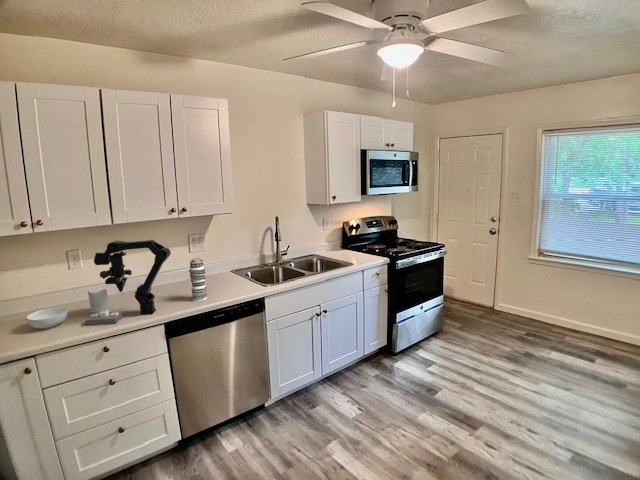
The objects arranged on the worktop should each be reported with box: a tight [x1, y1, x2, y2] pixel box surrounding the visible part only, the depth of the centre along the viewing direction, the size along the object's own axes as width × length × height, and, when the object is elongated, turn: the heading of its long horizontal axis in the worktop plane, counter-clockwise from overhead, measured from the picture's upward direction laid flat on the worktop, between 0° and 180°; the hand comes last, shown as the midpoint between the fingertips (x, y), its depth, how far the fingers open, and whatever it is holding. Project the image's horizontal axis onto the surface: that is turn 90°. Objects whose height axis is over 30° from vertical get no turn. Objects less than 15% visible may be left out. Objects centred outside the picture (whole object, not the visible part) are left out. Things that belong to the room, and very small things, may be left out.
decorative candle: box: [188, 257, 208, 302], centre depth 217 cm, size 9×9×25 cm
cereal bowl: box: [26, 306, 69, 330], centre depth 185 cm, size 17×17×7 cm
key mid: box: [100, 310, 110, 317], centre depth 189 cm, size 3×3×3 cm
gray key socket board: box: [84, 310, 125, 327], centre depth 190 cm, size 15×10×3 cm, turn 96°
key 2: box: [110, 311, 119, 316], centre depth 190 cm, size 3×3×3 cm
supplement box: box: [87, 287, 111, 314], centre depth 203 cm, size 7×7×13 cm
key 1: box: [89, 313, 99, 318], centre depth 189 cm, size 3×3×3 cm
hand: (121, 291), depth 196 cm, fingers closed
